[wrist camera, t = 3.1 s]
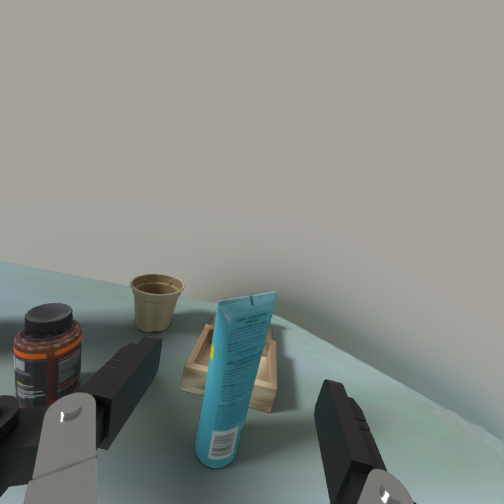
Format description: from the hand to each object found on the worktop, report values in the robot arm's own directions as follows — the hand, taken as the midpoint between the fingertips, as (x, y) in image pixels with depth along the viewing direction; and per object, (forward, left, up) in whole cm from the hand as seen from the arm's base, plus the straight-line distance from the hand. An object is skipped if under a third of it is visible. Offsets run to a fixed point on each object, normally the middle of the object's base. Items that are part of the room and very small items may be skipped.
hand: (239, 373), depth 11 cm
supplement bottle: (-21, +12, -21) cm, 32 cm away
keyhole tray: (0, +27, -20) cm, 34 cm away
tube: (0, +11, -21) cm, 24 cm away
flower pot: (-17, +30, -21) cm, 41 cm away
